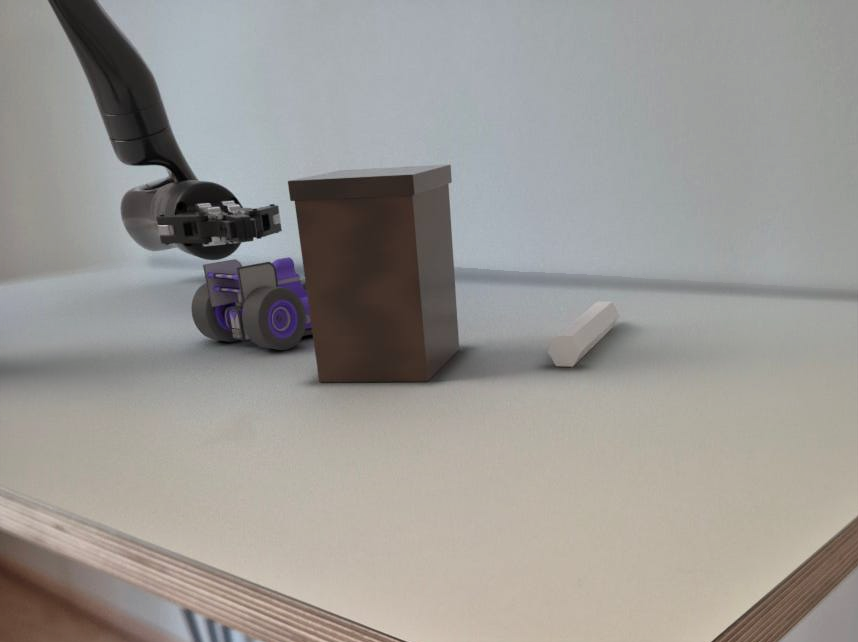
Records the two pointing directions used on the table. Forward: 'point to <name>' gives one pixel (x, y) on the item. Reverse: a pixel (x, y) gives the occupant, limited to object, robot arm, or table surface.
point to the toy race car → (253, 303)
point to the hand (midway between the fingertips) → (244, 229)
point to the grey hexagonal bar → (583, 334)
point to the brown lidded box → (378, 271)
